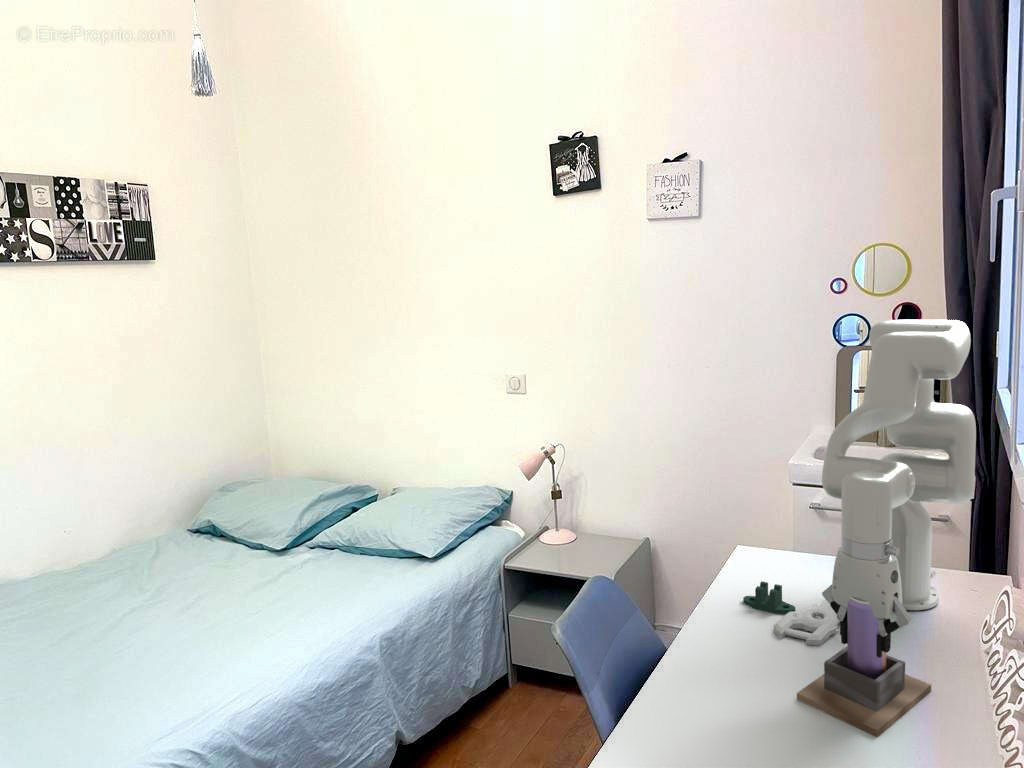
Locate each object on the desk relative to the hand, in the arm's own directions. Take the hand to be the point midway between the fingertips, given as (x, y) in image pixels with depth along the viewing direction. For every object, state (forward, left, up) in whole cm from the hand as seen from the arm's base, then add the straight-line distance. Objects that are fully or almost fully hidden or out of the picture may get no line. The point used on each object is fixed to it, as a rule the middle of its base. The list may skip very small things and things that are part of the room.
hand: (864, 646), depth 130 cm
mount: (-16, -29, -10) cm, 35 cm away
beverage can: (0, 0, -6) cm, 6 cm away
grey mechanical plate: (-16, -19, -10) cm, 26 cm away
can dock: (0, 0, -9) cm, 9 cm away
